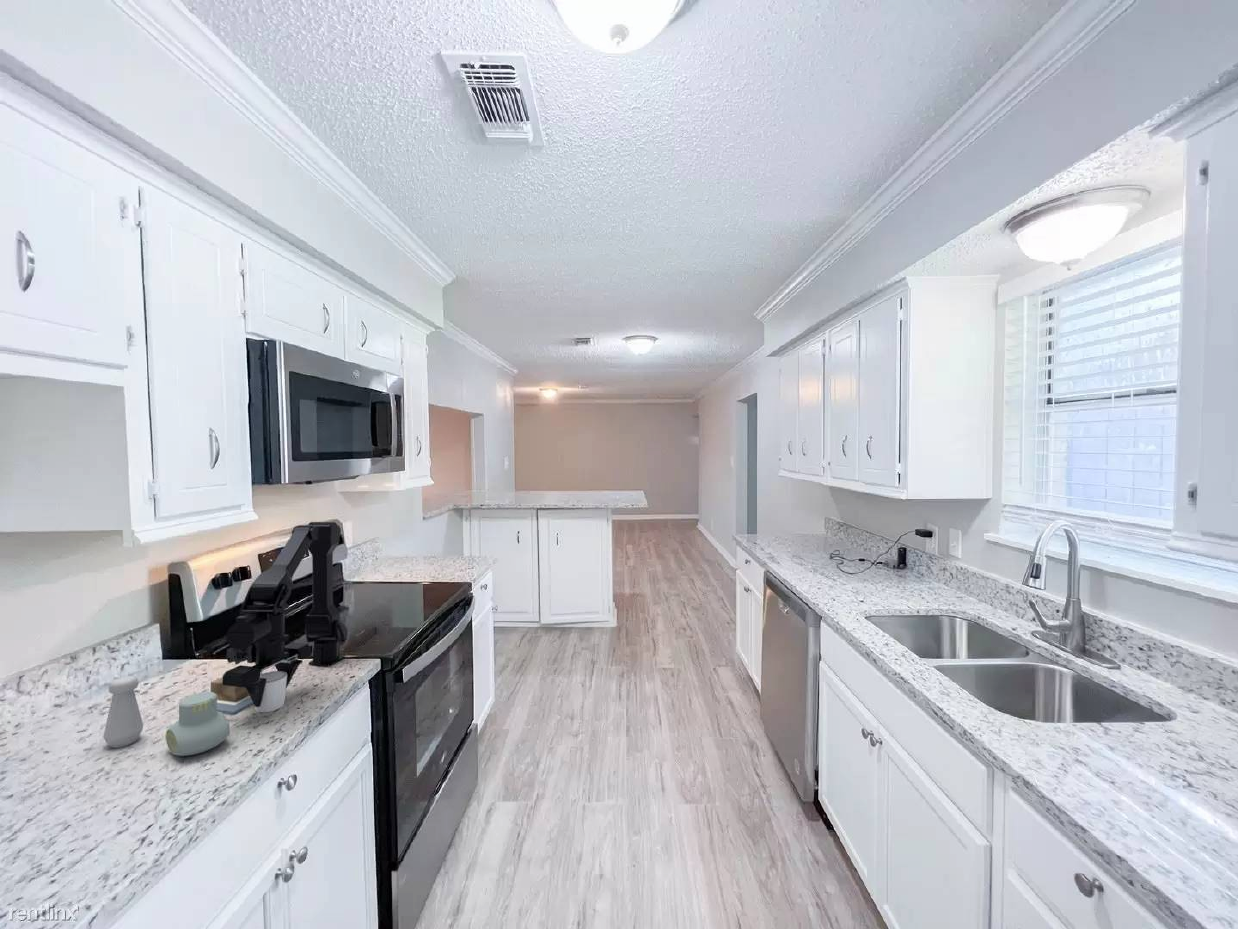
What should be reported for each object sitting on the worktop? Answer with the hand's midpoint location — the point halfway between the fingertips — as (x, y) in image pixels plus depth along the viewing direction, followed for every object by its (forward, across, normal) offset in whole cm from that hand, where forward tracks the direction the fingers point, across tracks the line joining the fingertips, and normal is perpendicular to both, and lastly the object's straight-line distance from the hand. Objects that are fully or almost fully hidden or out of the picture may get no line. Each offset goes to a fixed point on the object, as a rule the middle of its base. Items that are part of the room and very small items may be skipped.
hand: (269, 700), depth 120 cm
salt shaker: (+2, +19, -16) cm, 25 cm away
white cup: (+2, 0, 0) cm, 2 cm away
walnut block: (+1, -2, -12) cm, 12 cm away
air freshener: (+2, +17, 0) cm, 17 cm away
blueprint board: (+2, -2, -12) cm, 12 cm away
